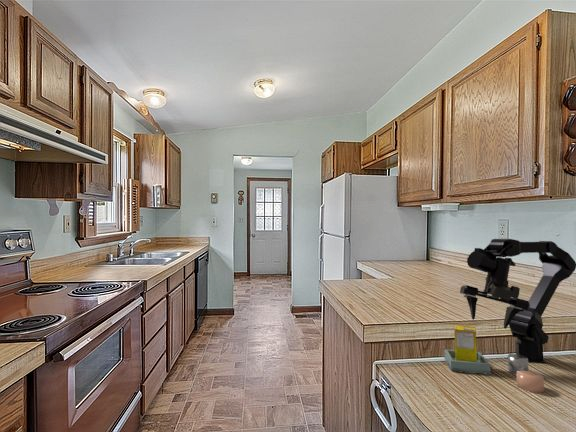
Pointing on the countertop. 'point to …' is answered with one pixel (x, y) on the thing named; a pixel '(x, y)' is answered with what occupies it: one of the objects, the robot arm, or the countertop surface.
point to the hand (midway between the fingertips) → (488, 323)
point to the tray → (467, 363)
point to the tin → (517, 363)
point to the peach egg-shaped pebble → (530, 381)
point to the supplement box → (465, 343)
